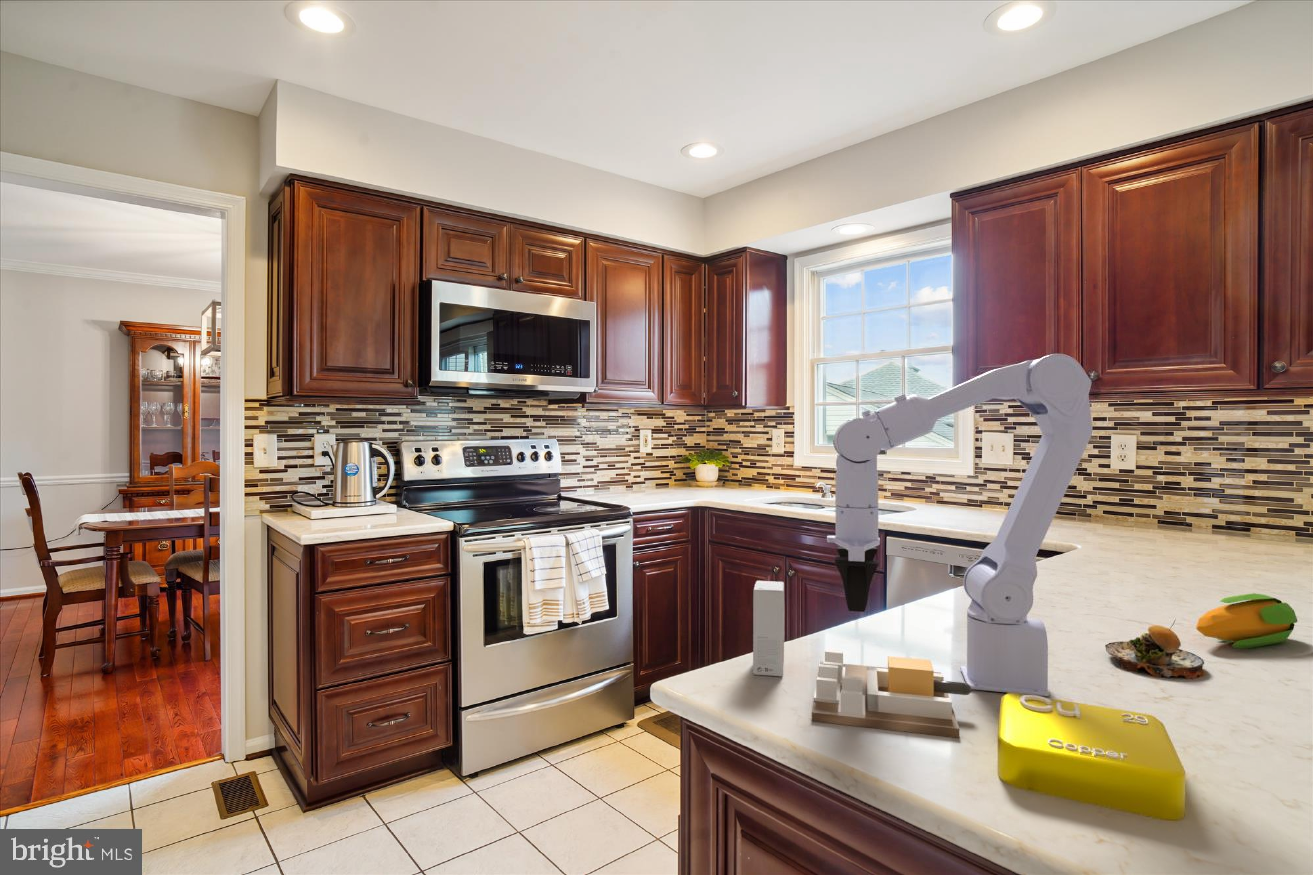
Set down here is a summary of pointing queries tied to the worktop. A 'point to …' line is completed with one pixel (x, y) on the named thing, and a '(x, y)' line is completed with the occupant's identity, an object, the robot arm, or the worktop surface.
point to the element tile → (1090, 755)
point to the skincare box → (768, 628)
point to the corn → (1249, 621)
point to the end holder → (904, 698)
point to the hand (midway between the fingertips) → (856, 603)
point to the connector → (919, 678)
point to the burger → (1157, 654)
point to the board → (881, 719)
